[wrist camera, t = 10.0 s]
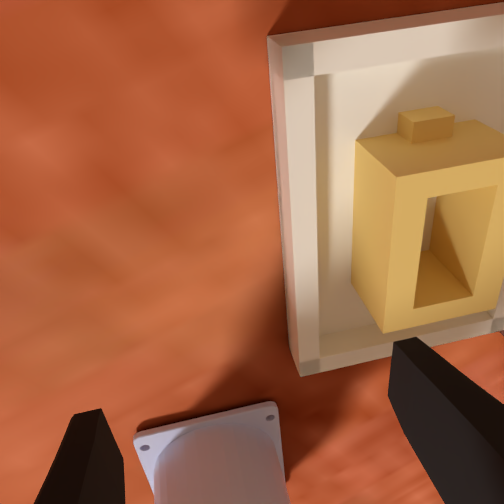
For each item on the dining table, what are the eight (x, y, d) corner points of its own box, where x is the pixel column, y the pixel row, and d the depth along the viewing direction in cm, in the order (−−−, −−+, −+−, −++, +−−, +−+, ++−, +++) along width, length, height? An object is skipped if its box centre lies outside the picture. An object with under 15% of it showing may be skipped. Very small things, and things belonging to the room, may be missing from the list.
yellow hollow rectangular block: (355, 119, 18) (398, 154, 15) (478, 98, 18) (543, 128, 15) (350, 295, 22) (381, 347, 20) (447, 275, 23) (491, 322, 20)
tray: (484, 304, 26) (507, 329, 24) (289, 347, 24) (300, 377, 23) (559, -7, 17) (603, -1, 16) (266, 36, 16) (281, 46, 14)
